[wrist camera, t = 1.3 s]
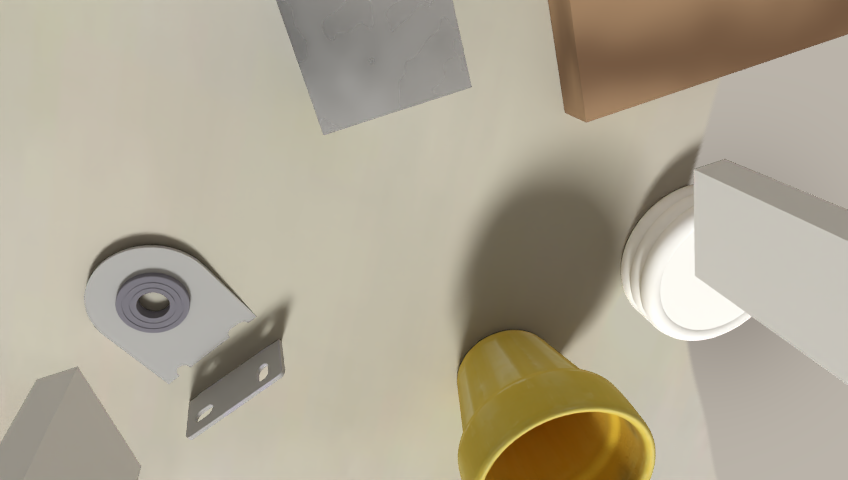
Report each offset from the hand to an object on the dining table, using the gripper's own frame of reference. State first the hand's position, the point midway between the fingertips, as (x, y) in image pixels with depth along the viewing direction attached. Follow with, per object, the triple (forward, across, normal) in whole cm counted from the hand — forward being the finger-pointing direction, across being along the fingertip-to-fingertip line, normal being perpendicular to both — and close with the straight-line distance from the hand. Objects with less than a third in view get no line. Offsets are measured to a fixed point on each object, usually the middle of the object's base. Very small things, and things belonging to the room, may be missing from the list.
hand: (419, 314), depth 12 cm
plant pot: (+20, +6, -20) cm, 29 cm away
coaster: (+20, +20, -15) cm, 32 cm away
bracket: (+20, -11, -9) cm, 25 cm away
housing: (+20, +2, +4) cm, 20 cm away
